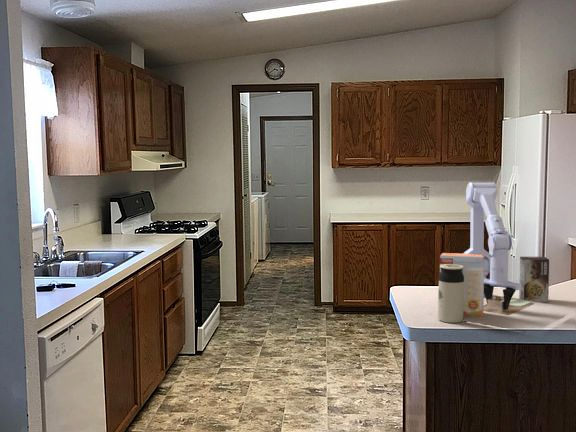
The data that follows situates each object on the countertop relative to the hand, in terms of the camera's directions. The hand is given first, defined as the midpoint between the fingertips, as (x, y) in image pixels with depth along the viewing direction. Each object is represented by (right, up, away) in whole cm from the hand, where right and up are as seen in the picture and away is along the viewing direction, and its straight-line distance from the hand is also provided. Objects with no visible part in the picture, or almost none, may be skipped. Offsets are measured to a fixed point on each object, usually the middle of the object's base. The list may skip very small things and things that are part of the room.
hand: (497, 307), depth 212 cm
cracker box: (-14, -2, -4) cm, 15 cm away
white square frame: (0, -1, 0) cm, 1 cm away
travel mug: (-19, -3, -10) cm, 22 cm away
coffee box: (+19, 0, +18) cm, 26 cm away
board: (+4, -1, +5) cm, 6 cm away
